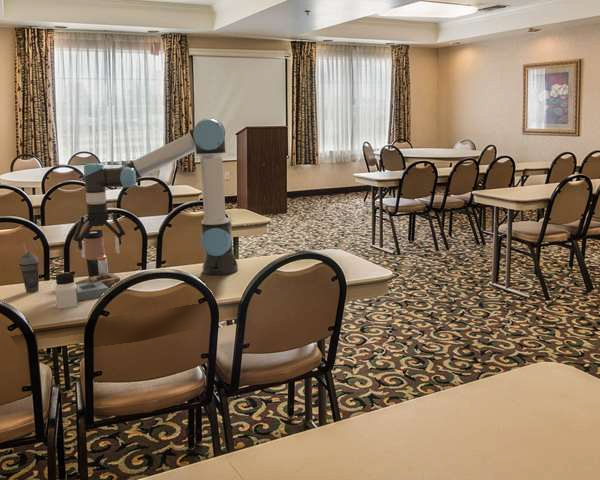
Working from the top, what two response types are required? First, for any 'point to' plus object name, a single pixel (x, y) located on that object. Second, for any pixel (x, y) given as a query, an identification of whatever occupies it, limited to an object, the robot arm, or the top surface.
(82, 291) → the socket
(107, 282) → the mount
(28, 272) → the beverage cup
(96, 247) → the travel mug
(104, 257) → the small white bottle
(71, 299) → the medicine bottle
